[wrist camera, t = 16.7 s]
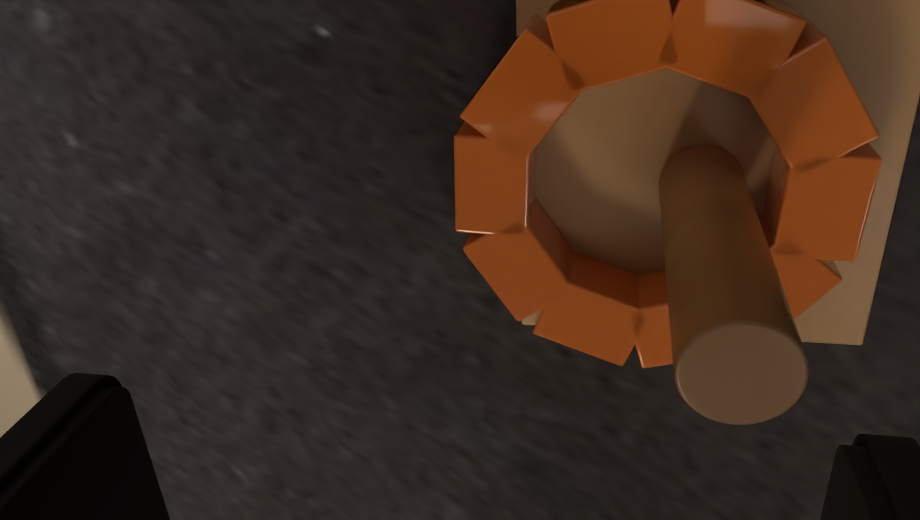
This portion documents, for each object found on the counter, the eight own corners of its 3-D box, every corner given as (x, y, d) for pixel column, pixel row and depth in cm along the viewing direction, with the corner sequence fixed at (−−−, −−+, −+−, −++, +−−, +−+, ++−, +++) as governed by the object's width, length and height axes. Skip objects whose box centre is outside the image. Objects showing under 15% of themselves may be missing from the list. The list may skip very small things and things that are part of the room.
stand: (527, 298, 23) (470, 546, 15) (523, -15, 19) (439, 90, 11) (848, 315, 21) (985, 609, 13) (922, -25, 17) (1192, 91, 9)
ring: (469, 314, 22) (456, 350, 20) (466, -36, 17) (449, -25, 16) (808, 347, 20) (823, 388, 19) (901, -31, 16) (930, -18, 14)
